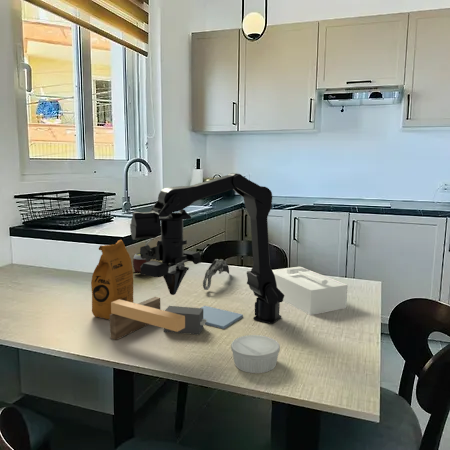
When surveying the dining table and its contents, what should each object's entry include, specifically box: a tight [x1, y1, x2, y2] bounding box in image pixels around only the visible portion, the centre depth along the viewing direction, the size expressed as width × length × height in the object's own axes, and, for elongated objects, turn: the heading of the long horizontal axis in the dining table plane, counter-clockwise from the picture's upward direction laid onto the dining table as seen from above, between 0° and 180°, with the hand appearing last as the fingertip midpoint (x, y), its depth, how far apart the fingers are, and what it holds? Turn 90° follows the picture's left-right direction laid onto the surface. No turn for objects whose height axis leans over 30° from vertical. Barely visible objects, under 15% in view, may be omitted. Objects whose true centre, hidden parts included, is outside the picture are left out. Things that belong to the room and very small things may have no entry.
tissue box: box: [272, 266, 349, 316], centre depth 145 cm, size 14×25×11 cm, turn 27°
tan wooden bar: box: [111, 299, 185, 332], centre depth 108 cm, size 22×3×3 cm, turn 58°
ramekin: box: [230, 334, 281, 374], centre depth 100 cm, size 11×11×5 cm
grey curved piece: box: [202, 258, 230, 291], centre depth 163 cm, size 28×2×10 cm, turn 161°
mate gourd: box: [132, 238, 153, 276], centre depth 176 cm, size 8×8×15 cm
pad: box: [200, 305, 244, 330], centre depth 128 cm, size 14×11×1 cm
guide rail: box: [109, 296, 161, 341], centre depth 120 cm, size 2×18×6 cm, turn 148°
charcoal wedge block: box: [163, 305, 207, 335], centre depth 119 cm, size 11×5×6 cm, turn 79°
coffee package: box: [90, 239, 134, 321], centre depth 130 cm, size 10×12×22 cm
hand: (172, 294), depth 113 cm, fingers closed
